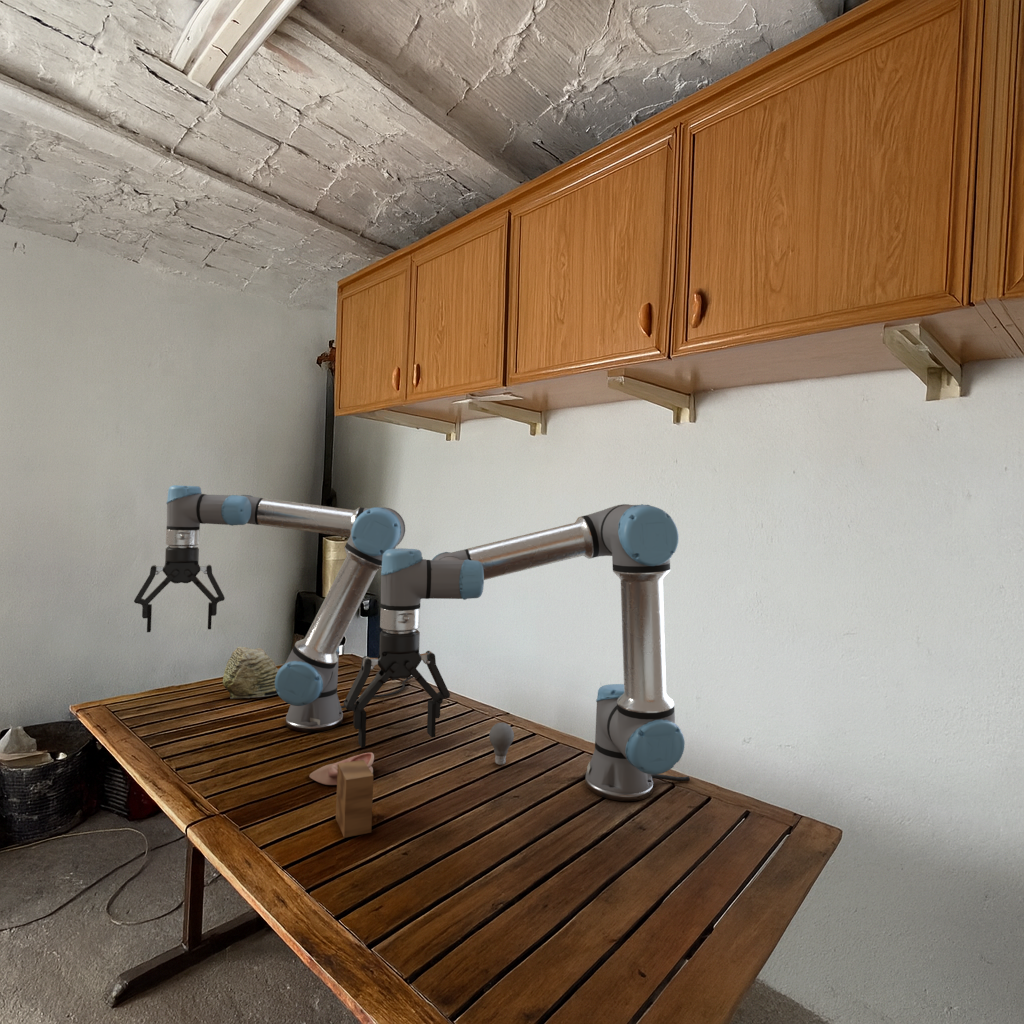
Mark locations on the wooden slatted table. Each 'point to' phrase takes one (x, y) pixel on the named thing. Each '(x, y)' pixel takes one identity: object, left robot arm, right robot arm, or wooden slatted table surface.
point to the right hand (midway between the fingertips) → (397, 740)
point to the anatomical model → (329, 772)
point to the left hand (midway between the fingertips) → (179, 629)
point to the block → (354, 798)
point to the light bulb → (501, 741)
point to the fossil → (250, 674)
